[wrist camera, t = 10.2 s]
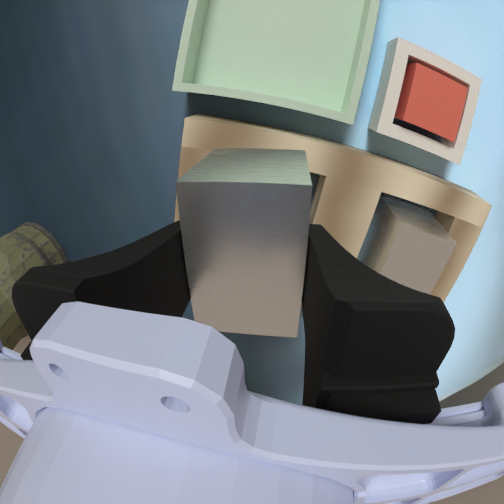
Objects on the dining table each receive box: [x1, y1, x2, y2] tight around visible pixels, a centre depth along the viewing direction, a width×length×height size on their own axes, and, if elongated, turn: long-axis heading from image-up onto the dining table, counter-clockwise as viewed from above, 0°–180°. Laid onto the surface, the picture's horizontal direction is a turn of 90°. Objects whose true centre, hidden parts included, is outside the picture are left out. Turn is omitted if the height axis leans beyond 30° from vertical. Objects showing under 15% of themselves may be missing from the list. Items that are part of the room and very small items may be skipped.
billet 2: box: [357, 194, 457, 294], centre depth 18 cm, size 4×6×5 cm, turn 170°
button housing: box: [368, 37, 482, 165], centre depth 14 cm, size 6×6×2 cm
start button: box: [394, 63, 468, 142], centre depth 14 cm, size 4×4×2 cm
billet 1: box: [176, 148, 312, 337], centre depth 12 cm, size 4×6×5 cm, turn 0°
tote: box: [172, 0, 380, 125], centre depth 12 cm, size 10×13×2 cm
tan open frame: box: [175, 114, 492, 307], centre depth 19 cm, size 20×11×2 cm, turn 80°
